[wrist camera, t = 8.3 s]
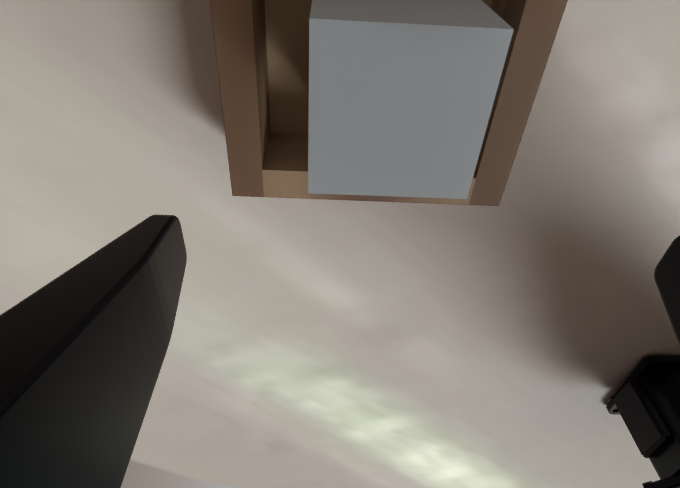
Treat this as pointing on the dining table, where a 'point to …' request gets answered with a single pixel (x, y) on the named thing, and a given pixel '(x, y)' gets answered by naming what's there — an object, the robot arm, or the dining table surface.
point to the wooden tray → (293, 96)
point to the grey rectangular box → (401, 94)
